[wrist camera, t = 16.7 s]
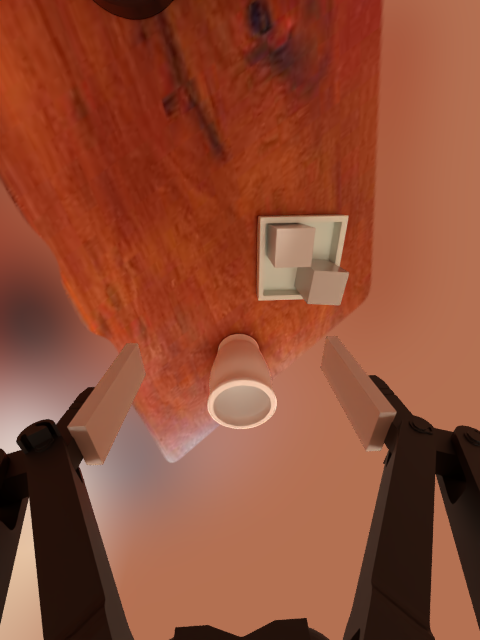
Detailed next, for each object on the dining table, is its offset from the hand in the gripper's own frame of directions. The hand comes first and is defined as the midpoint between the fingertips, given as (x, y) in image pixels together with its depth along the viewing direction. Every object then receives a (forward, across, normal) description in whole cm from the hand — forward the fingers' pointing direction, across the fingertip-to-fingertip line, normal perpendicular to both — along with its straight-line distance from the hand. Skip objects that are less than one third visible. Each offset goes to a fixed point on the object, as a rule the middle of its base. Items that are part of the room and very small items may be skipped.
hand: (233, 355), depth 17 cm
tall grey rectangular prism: (+26, +8, +4) cm, 28 cm away
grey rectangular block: (+26, +14, -2) cm, 29 cm away
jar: (+27, +1, -18) cm, 32 cm away
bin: (+27, +11, +1) cm, 29 cm away
